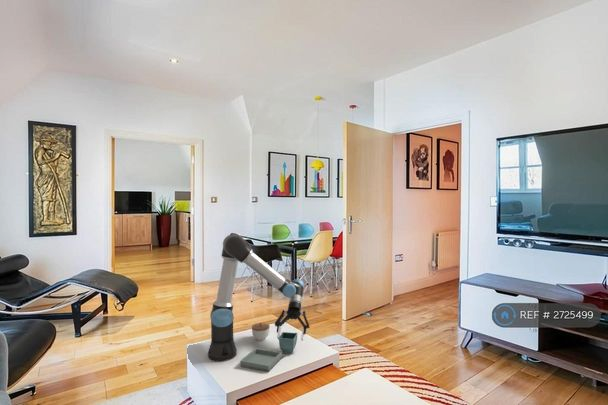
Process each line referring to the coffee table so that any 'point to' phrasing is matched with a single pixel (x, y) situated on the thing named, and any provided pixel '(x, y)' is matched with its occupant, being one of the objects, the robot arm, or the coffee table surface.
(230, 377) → the coffee table surface
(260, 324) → the lidded jar
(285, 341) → the flower pot
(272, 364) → the tray
